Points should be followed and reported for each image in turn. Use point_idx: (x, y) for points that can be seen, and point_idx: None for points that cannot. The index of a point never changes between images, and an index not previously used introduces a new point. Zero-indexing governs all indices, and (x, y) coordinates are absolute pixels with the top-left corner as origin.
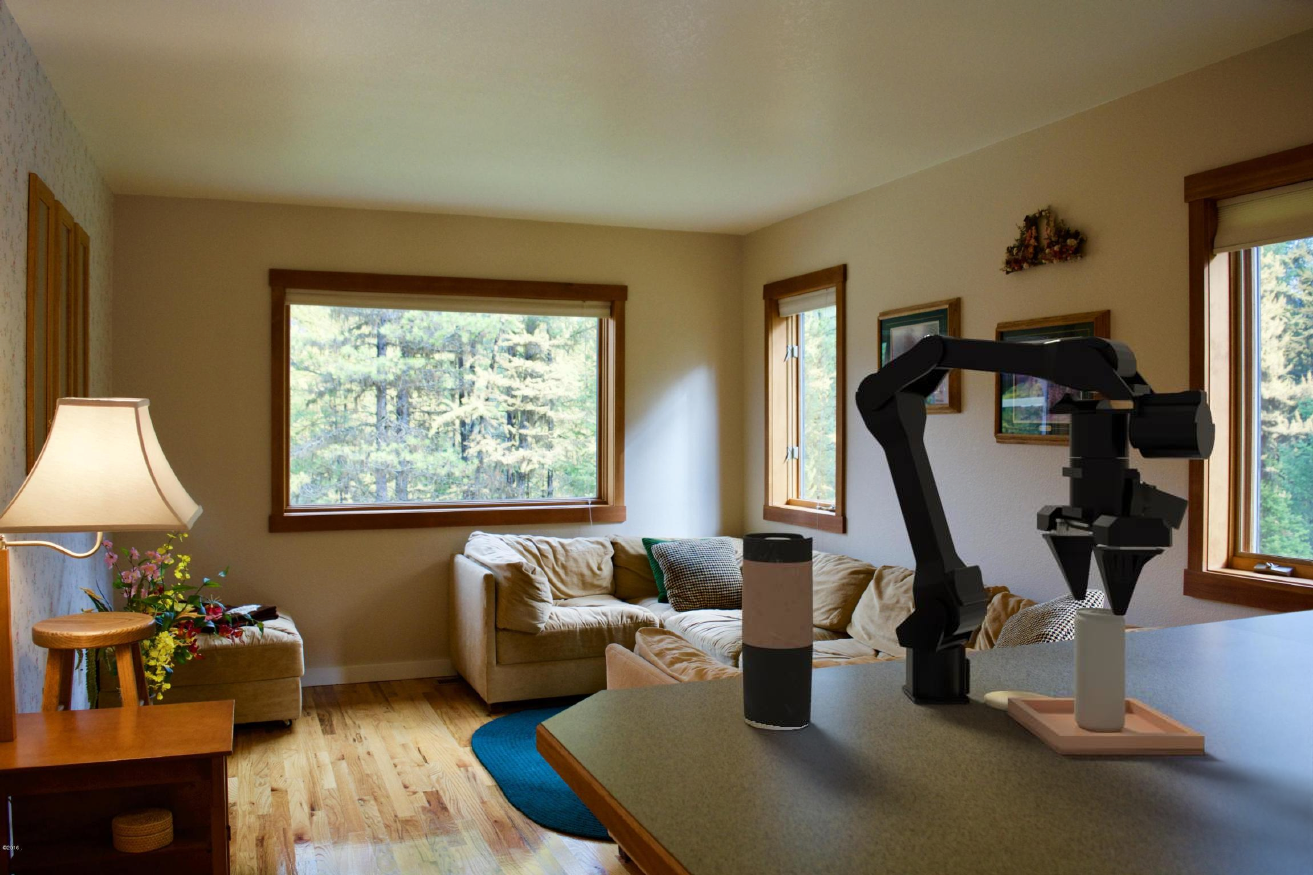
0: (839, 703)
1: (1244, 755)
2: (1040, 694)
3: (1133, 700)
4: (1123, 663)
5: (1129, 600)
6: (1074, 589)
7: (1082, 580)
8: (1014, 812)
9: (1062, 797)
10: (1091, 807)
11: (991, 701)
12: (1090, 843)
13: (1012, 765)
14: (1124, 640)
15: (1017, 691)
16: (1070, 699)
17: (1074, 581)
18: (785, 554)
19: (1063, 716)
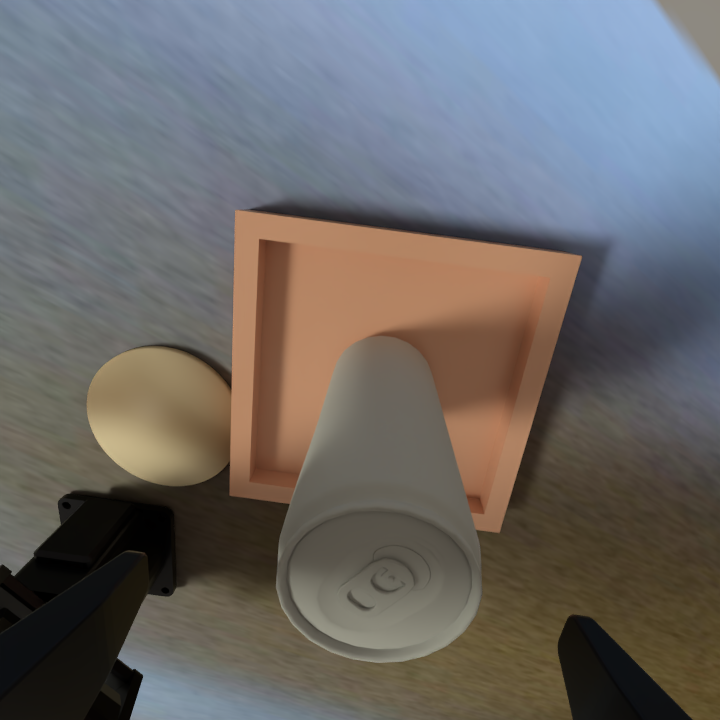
0: (173, 678)
1: (593, 156)
2: (113, 358)
3: (261, 227)
4: (439, 422)
5: (659, 692)
6: (120, 644)
7: (76, 662)
8: (684, 666)
9: (663, 597)
10: (711, 583)
11: (179, 482)
12: None
13: (519, 593)
14: (443, 457)
15: (91, 395)
16: (247, 379)
17: (86, 690)
18: None
19: (300, 408)
